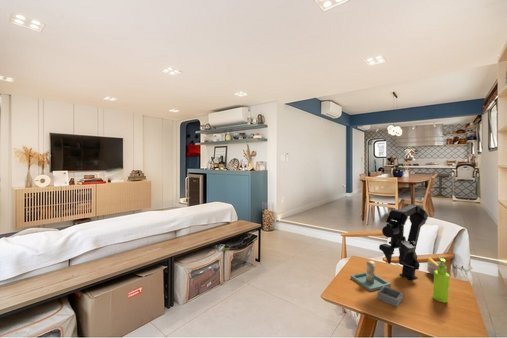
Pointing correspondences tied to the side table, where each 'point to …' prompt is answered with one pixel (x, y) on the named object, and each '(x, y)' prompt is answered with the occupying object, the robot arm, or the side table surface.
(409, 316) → the side table surface
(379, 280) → the green-grey tray
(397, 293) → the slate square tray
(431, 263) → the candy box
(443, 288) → the soap dispenser
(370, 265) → the rounded wooden peg
